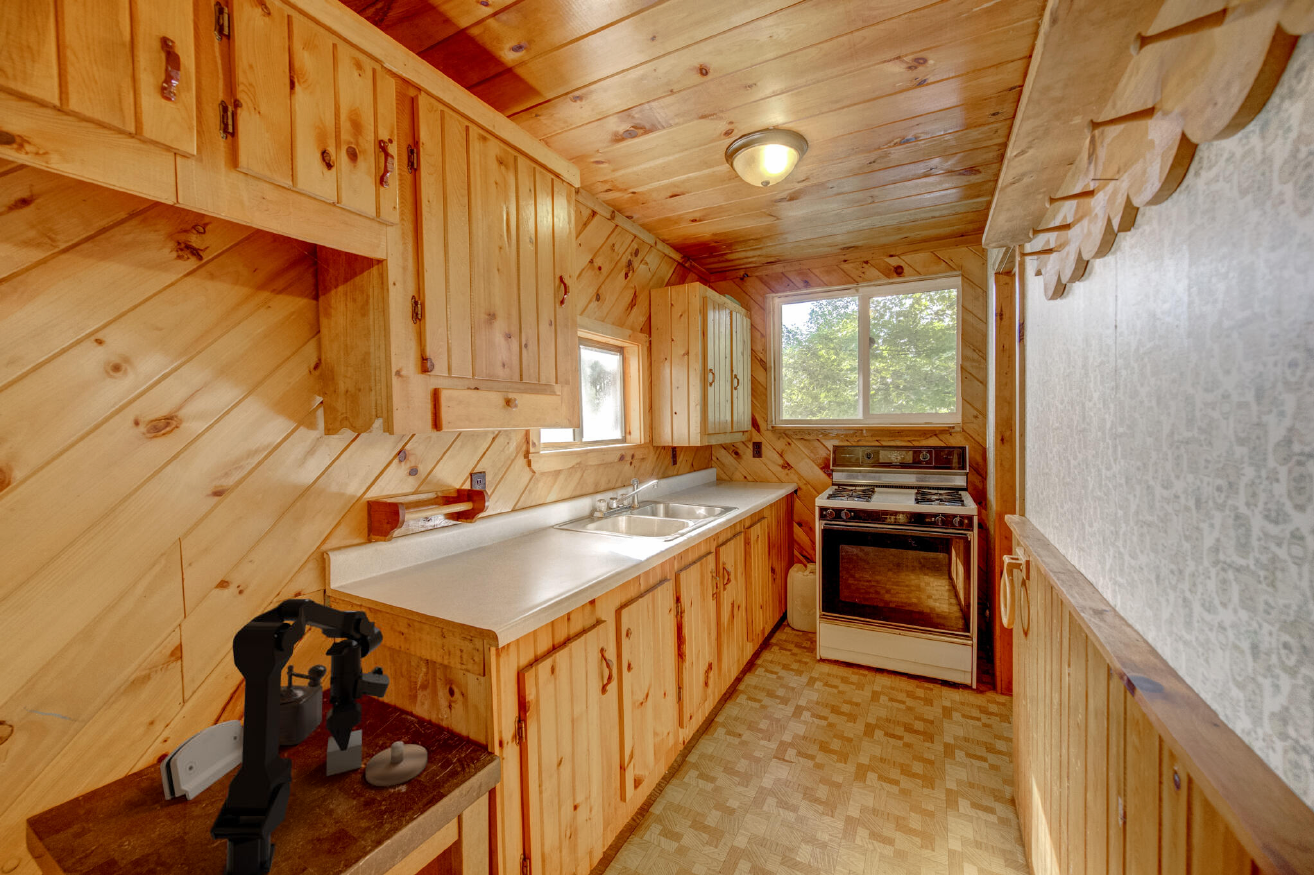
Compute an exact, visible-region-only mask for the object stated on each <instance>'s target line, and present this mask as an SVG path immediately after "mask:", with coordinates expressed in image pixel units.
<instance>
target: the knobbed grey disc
mask: <svg viewBox="0 0 1314 875" xmlns="http://www.w3.org/2000/svg"><path fill="white" fill-rule="evenodd" d="M427 764H428V751H427V750H426V748H425V747H423V746H422V745H419V744H415V743H414V744H411V743H409V744H408V743H407V744H405V743H404V742H403V741H395V742H393V743H392V744H391V747H389V748H386V749H384V750H381V751H380V752H378V753H376V754H375V755H374V756H373V757H371V759H369V761H368V762H367V763H366V765H365V779H366V781H367V782H368V783H369V784H370V785H373V786H375V787H390V786H395V785H399V784H402V783H405V782H407V781H410V780H412V779H413V778H415V777H416V776H418V775H419V774H420V773H422V772H423V770H425V768H426V766H427Z"/></svg>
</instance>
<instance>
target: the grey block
mask: <svg viewBox="0 0 1314 875" xmlns="http://www.w3.org/2000/svg"><path fill="white" fill-rule="evenodd" d="M362 736H363V729H359V730H354V731H353V730H352V732H351V736H350V739H349V743H348V747H347V750H344V751H341V750H340V748H339V747H338V745H337V743H336V741H335V740H334V738H333V736H332V735H331V736H328V742H327V750H326V777H330V776H333V775H336V774H340V773H345V772H349V771H352V770H355V769H360V768H362V753H363V752H362V749H363V748H362V744H363V742H362V741H363V739H362Z"/></svg>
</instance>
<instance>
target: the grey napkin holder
mask: <svg viewBox="0 0 1314 875" xmlns="http://www.w3.org/2000/svg"><path fill="white" fill-rule="evenodd" d="M242 749H243V726H242V724H241V721H240V720H239V719H234V720H233V719H232V720H227V721H222V722H221V723H218V724H215V725H211V726H209V727H207V728H204V729H202V730H200V731H199V732H197V733H195V734H194V735H192V736H190V737H188V738H187V739H186V740H184V741H183V742H181V743H180V744H179V745H178V746H177V747H176V748H174V749H173V751H171V752H170V753H169V754H168V755H166V757H165V759H164V760H162V762H161V763H160V765H159V766H160V774H161V780H162V786H163V791H164V797H165V800H166V801H167V800H171V799H172V798H174V797H175V798H177V797H180V796H183V795H185V796H186V799H187V801H191V800H193V799H194V798H195V797H196V796H197V795H198V796H199V795H200V793H202V792H203V791H205V790H206V789H207V788H209V787H210V786H211V785H213V784H214V783H216V782H217V781H218V780H219V779H221V778H222V777H223V776H225V775H227V774H228V773H229V772H230V771H231V770H233V769H235V767H237V766H238V765H240V764H242Z"/></svg>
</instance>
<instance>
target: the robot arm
mask: <svg viewBox="0 0 1314 875" xmlns="http://www.w3.org/2000/svg"><path fill="white" fill-rule="evenodd" d="M290 622H293V623H290ZM306 626H308V627H313V628H317V629H320V630H321V634H322V635H324V636H326V637H327V638H329V639H342V640H340V641H336V642H335V641H334V642H333V643H332V645H331V646H330V647H329V648H328V649H327V650H326V651H325V656H326V657H327V656H328V657H330V677H329V685H330V688H329V689H330V690H329V691H330V693H329V694H330V695H329V704H330V705H332V707H331V708H330V709H329V710H328V711H327V713H326V724H325V728H326V730H327V731H328V732H329V733H330V735H331V737H332V736H333V738H334V740H335V741H336V743H337V745H338V747H339V748H340V750H341V751H344V750H347V747H348V743H349V739H350V736H351V732H353V728H354V727H355V726H357V725H359V724H360V723H361V722H362V704H361V703H359V702H358V701H357V700H361V699H363V696H370V697H376V698H379V699H383V698H384V697H385V695H386V693H387V690H388V688H389V685H390V676H388V674H387V673H384V668H383V666H375V667H374V668H373V669H372V670H371V671H368V672H363V667H362V659H364V658H366V657H367V656H368V655H369V654H370V653H372V652H373V651H374V650H376V649H378V647H380V646H381V644H382V642H383V640H384V635H383V633H382V631H381V629H379V628H378V627H376V624H375V621H370V619H369V617H368V615H367V613H366V611H364V610H339V609H338V608H337V609H336V608H333V607H331V606H328V605H325V604H322V603H318V602H316V601H315V600H314V599H313V600H312V599H311V598H288V599H285V600H282V601H281V602H280V603H279V604H278V605H277V606H276V607H274V608H271V609H269V610H267V611H265V612H263V613H261V614H259V615H257V616H255V617H253V618H252V619H251V620H250V621H248V622H247V623H246V624H245V625H244V626H243V627H242V628H240V629H239V630H238V631H237V632H236V633H235V635H234V636H233V640H232V654H233V655H232V656H233V663H234V664H233V665H234V667H236V669H237V671H239V673H240V675H242V677H243V678H244V703H243V723H242V724H243V726H242V727H243V749H242V762H241V766H240V767H239V769H238V771H236V773H235V775H234V776H233V778H232V780H230V782H229V785H228V790H227V796H226V798H225V800H224V802H223V803H222V806H221V808H220V810H219V812H218V814H217V816H216V818H215V820H214V822H213V824H212V826H211V828H210V830H209V834H210V836H211V839H212V840H213V841H215V840H226V841H227V842H226V844H227V845H226V846H227V848H226V864H225V866H224V870H223V873H222V875H266V874H268V873H270V872H271V868H272V863H273V859H274V856H275V849H276V843H275V842H273V843H271V838H272V837H271V834H272V833H273V832H274V831H275V830H276V829H277V828H278V827H279V826H280V825H281V823H283V821H284V820H285V817H286V813H287V807H288V804H289V798H290V794H291V783H292V782H293V778H292V768H293V767H292V766H293V761H292V758H290V757H289V758H287V757H281V756H280V754H279V747H280V746H279V721H280V694H281V686H282V673H283V672H282V671H283V669H284V668H285V666H286V665H287V664H288V662H290V659H291V658H292V656H293V655H294V649H295V645H296V644H297V643H298V642H299V641H300V640H301V639H302V638H304V636H305V635H306V628H307V627H306Z"/></svg>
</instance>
